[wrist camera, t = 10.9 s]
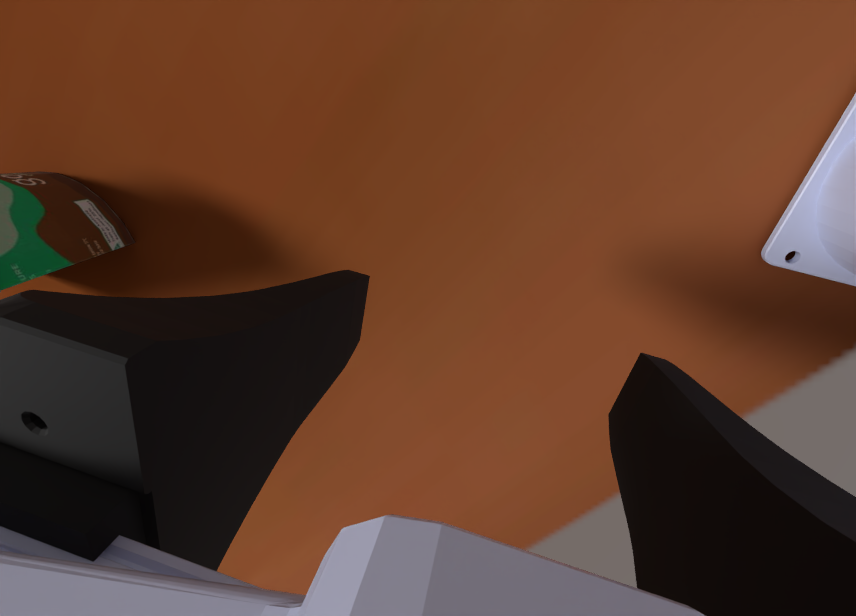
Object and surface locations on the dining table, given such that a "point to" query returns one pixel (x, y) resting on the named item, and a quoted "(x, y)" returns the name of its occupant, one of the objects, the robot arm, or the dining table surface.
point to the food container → (52, 225)
